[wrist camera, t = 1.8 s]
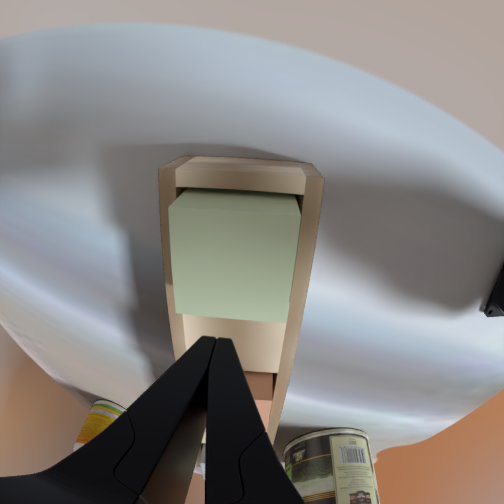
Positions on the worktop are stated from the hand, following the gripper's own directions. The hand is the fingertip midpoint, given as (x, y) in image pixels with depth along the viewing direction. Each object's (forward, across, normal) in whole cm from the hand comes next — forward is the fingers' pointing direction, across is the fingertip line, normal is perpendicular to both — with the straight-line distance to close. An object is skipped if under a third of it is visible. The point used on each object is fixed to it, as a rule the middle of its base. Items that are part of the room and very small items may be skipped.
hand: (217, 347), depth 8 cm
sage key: (+8, 0, 0) cm, 8 cm away
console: (+10, 0, +11) cm, 15 cm away
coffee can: (+11, -11, +27) cm, 31 cm away
